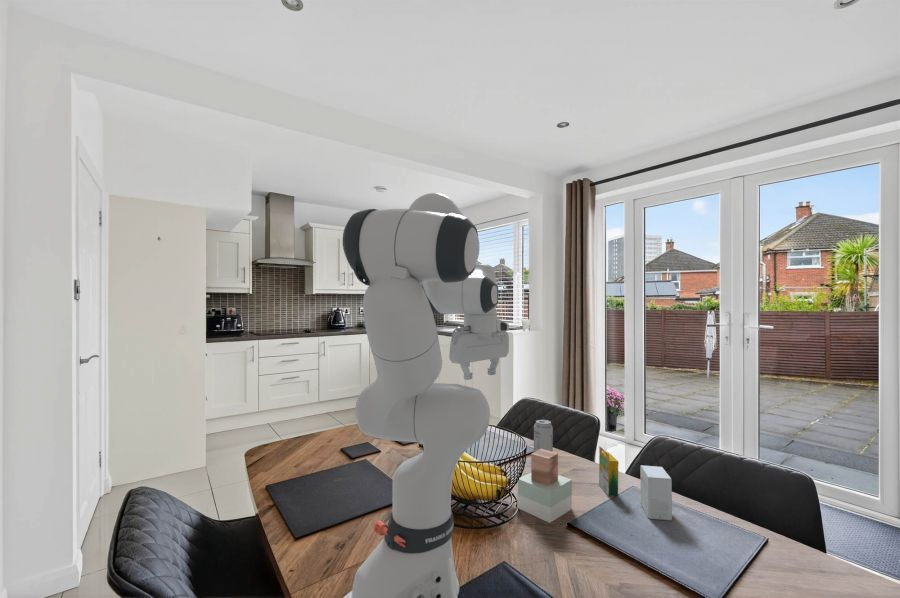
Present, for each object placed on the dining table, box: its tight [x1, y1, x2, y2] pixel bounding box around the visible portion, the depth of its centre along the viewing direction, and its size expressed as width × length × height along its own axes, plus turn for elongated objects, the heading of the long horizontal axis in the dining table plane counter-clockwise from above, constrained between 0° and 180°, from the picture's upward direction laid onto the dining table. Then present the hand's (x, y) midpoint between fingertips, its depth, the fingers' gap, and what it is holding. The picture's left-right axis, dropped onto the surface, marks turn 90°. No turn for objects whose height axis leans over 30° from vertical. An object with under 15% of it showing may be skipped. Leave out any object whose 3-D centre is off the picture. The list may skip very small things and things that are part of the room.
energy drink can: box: [533, 419, 554, 453], centre depth 135 cm, size 6×6×15 cm
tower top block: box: [517, 472, 573, 508], centre depth 109 cm, size 10×10×4 cm
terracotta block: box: [530, 449, 559, 486], centre depth 109 cm, size 5×5×7 cm
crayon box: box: [598, 445, 619, 497], centre depth 120 cm, size 7×3×12 cm, turn 0°
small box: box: [639, 465, 673, 521], centre depth 107 cm, size 8×6×10 cm
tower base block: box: [516, 493, 573, 524], centre depth 109 cm, size 10×10×4 cm
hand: (480, 377), depth 111 cm, fingers open, 8 cm apart
